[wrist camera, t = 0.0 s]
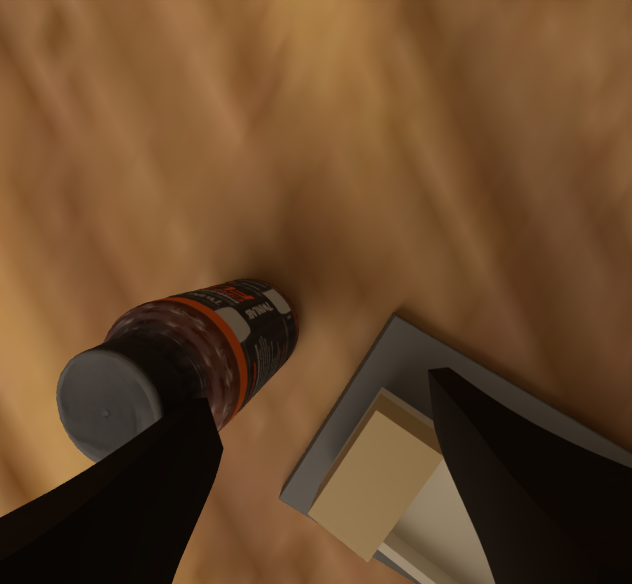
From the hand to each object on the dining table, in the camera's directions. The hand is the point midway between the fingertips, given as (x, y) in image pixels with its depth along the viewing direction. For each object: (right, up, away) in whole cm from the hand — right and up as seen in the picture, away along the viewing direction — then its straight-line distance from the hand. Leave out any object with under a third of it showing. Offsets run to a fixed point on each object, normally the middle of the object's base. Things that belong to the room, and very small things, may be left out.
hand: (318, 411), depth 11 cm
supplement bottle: (-4, +2, +11) cm, 12 cm away
